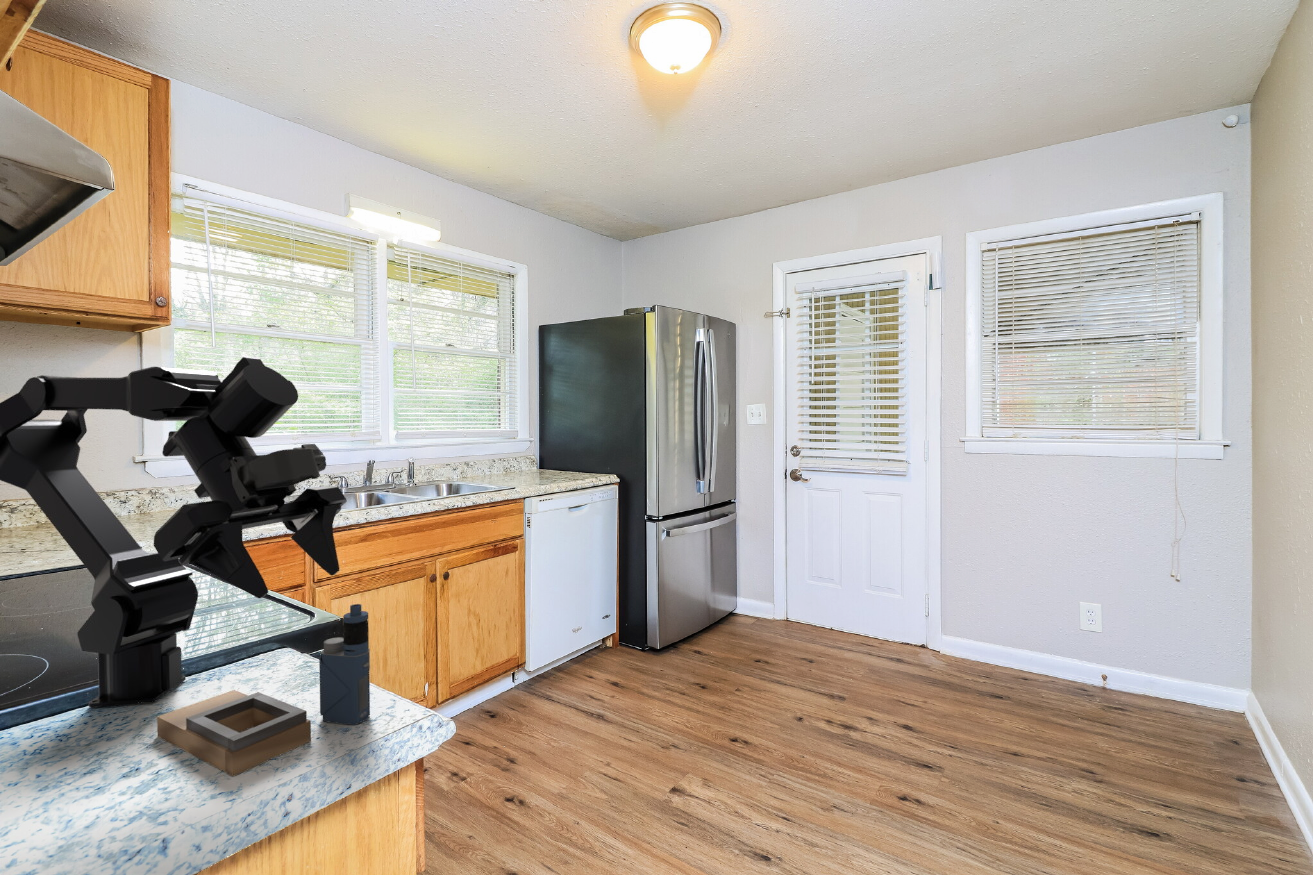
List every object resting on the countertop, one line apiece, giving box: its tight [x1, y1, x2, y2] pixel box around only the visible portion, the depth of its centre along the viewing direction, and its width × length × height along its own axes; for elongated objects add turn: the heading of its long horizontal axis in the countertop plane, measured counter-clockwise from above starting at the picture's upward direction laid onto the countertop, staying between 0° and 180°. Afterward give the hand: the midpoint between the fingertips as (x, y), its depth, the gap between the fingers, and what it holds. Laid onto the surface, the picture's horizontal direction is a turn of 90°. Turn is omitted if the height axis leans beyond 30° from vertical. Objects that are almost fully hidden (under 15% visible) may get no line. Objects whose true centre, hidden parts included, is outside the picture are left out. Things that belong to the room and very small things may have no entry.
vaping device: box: [318, 603, 371, 725], centre depth 65 cm, size 3×5×12 cm, turn 78°
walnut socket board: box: [156, 689, 312, 777], centre depth 61 cm, size 14×7×3 cm, turn 60°
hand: (302, 583), depth 65 cm, fingers open, 9 cm apart
